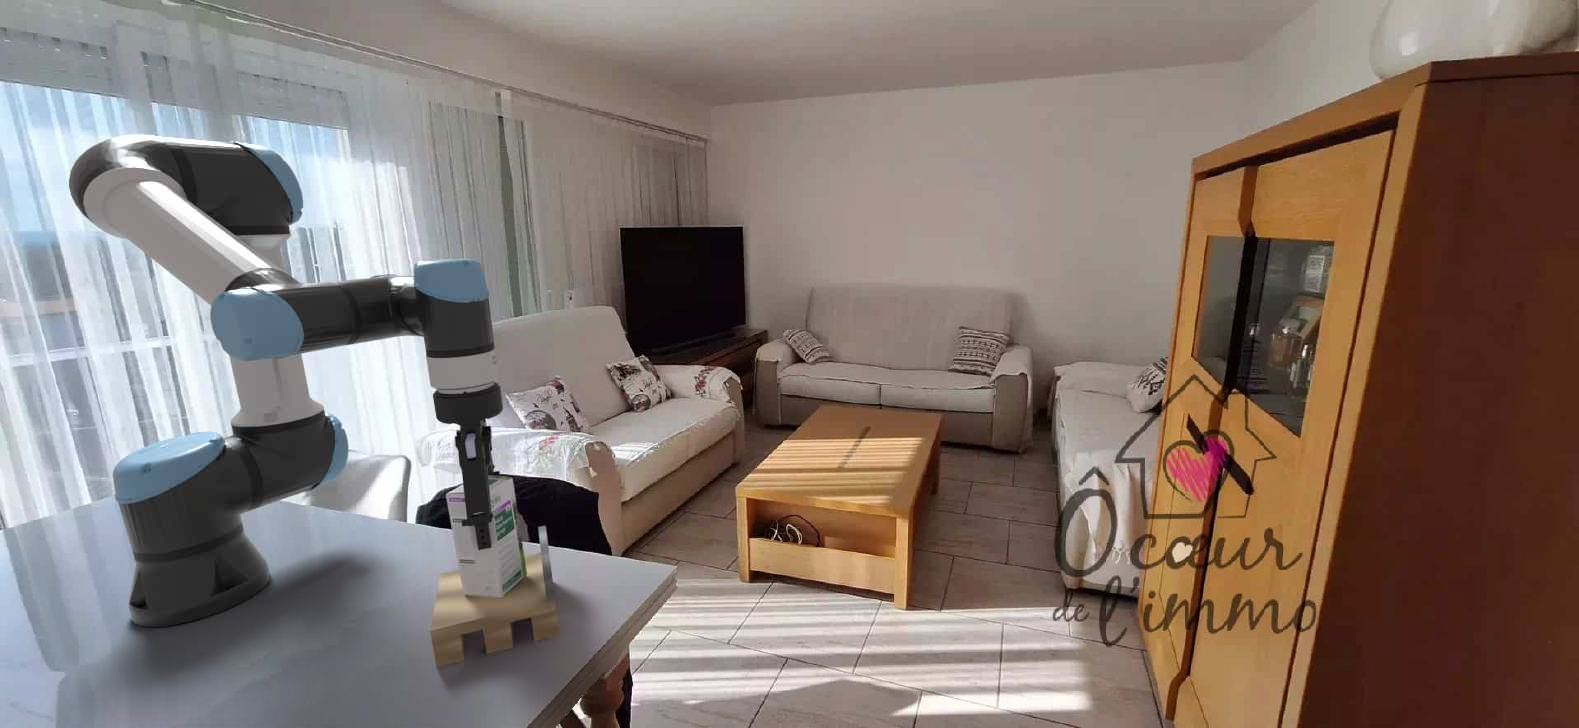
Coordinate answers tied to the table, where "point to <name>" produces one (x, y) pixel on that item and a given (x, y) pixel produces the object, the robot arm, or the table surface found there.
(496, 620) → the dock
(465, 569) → the syrup box
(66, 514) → the table surface
